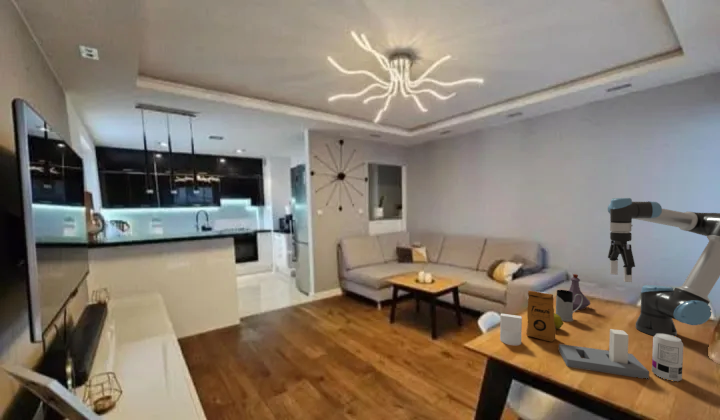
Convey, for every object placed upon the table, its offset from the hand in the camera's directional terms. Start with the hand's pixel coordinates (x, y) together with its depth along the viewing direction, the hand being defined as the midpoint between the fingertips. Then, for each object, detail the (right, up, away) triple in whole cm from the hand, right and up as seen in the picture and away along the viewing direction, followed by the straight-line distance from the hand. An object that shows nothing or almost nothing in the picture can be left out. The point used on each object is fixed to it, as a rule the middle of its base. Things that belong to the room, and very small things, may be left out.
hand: (620, 277), depth 146 cm
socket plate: (-22, -31, -17) cm, 42 cm away
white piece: (-49, -31, +4) cm, 58 cm away
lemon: (-21, -30, +18) cm, 41 cm away
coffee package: (-33, -30, +7) cm, 45 cm away
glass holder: (-4, -29, +31) cm, 42 cm away
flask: (+12, -28, +48) cm, 57 cm away
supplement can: (-4, -32, -26) cm, 41 cm away
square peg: (-17, -31, -19) cm, 40 cm away
